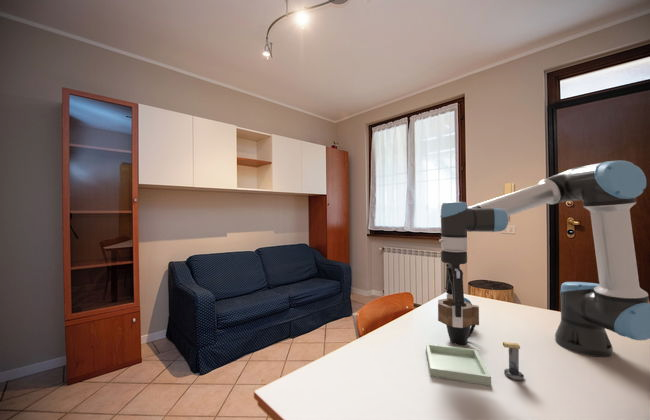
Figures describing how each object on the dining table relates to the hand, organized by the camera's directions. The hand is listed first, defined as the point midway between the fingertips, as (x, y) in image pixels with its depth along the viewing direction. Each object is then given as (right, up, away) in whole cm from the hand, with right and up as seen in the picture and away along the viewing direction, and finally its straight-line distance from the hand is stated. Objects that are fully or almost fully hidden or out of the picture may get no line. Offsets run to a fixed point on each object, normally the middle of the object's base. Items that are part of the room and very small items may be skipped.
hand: (454, 320), depth 87 cm
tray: (0, -15, 0) cm, 15 cm away
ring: (0, 0, 0) cm, 0 cm away
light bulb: (+18, -15, +31) cm, 39 cm away
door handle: (+15, -14, -5) cm, 22 cm away
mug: (+11, -15, +17) cm, 25 cm away
